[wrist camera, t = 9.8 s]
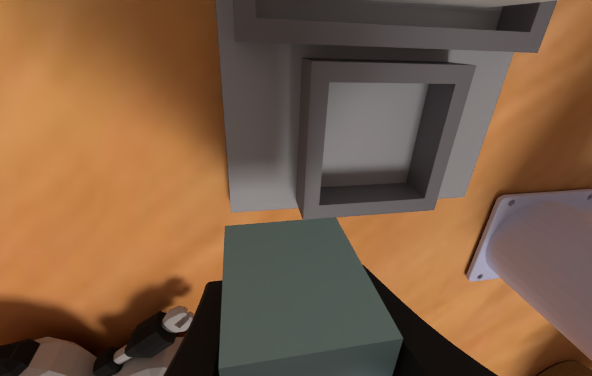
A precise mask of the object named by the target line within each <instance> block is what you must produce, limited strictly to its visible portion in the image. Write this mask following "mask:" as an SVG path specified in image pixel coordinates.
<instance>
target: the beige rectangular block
mask: <svg viewBox="0 0 592 376" xmlns="http://www.w3.org/2000/svg"><path fill="white" fill-rule="evenodd" d="M371 1H386V2H401V3H416V4H431V5H446V6H461V7H476V8H490V7H499V6H509V5H518V4H528V3H537V2H547V1H557V0H371Z"/></svg>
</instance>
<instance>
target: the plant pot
mask: <svg viewBox="0 0 592 376" xmlns="http://www.w3.org/2000/svg"><path fill="white" fill-rule="evenodd" d="M538 376H592V370H591V369H589V368H587V367H585V366H583V365H581V364H580V363H578V362H575V361H567V362H562V363H559V364H557V365H554V366H552V367H550V368H548V369H547V370H545V371H543V372H542V373H541V374H539V375H538Z"/></svg>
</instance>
